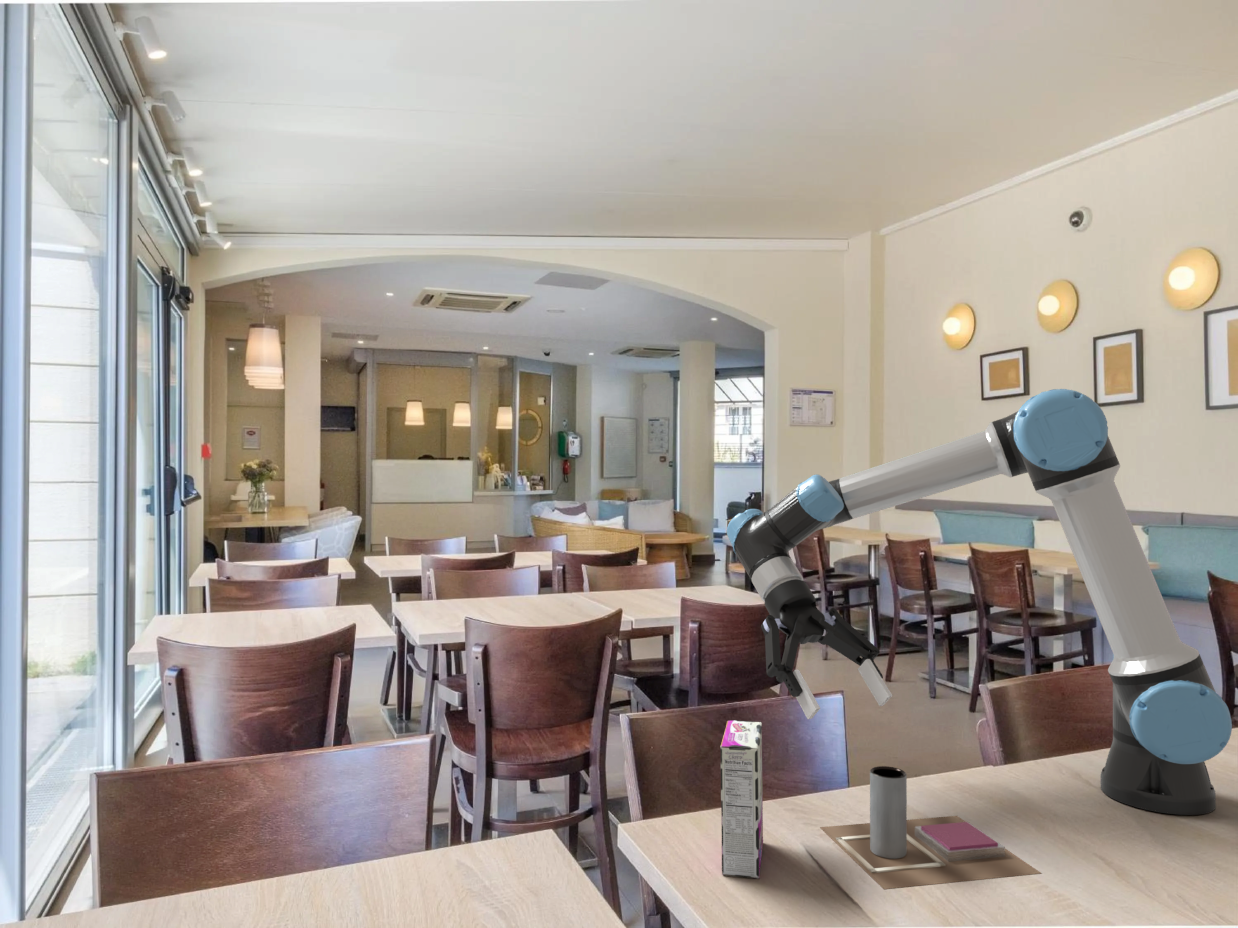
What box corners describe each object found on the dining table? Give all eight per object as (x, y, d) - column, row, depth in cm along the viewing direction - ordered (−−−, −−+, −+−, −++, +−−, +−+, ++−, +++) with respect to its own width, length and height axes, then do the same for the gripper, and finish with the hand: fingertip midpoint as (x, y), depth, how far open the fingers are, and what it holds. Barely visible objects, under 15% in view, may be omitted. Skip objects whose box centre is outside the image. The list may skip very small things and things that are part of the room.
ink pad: (968, 830, 118) (968, 819, 118) (1004, 856, 110) (1004, 844, 110) (914, 835, 117) (914, 824, 117) (948, 861, 109) (948, 849, 109)
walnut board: (956, 822, 123) (956, 814, 123) (1041, 881, 106) (1041, 871, 106) (819, 834, 119) (819, 825, 119) (884, 897, 102) (883, 886, 102)
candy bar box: (726, 838, 118) (726, 718, 118) (763, 842, 117) (763, 721, 117) (719, 876, 107) (719, 744, 107) (759, 880, 106) (759, 746, 106)
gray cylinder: (908, 860, 109) (908, 778, 109) (871, 857, 110) (871, 776, 110) (904, 845, 114) (904, 766, 114) (868, 842, 114) (868, 764, 115)
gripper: (833, 600, 147) (901, 709, 133) (710, 613, 135) (770, 733, 122) (854, 571, 142) (927, 681, 128) (728, 582, 131) (793, 704, 117)
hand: (851, 707), depth 125 cm, fingers open, 13 cm apart
